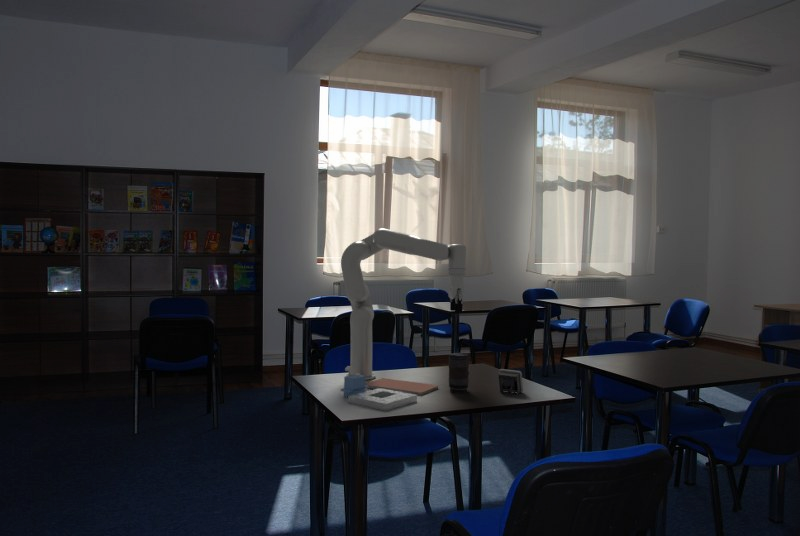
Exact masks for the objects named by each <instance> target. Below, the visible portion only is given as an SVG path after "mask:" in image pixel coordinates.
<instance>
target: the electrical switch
mask: <svg viewBox="0 0 800 536" xmlns="http://www.w3.org/2000/svg"><path fill="white" fill-rule="evenodd" d="M498 385H499V392H501V391H509V392H512V391H513V392H517V393H519V394H521V393H520V392H522V393H523V392H524V384H523V373H522V371H521V370H514V369H513V370H512V369H503V368H500V369H498Z"/></svg>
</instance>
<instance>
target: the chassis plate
mask: <svg viewBox="0 0 800 536" xmlns="http://www.w3.org/2000/svg"><path fill="white" fill-rule="evenodd" d="M347 398H348V400H347V401H348V402H347V403H349V404H351V405H357V406H361V407H366V408H371V409H376V410H381V411H385V412H386V411H390V410H394V409H396V408H401V407H404V406H407V405H411V404H414V403H417V402H418V395H414V394H409V393H404V392H398V391H393V390H388V389H383V388H378V389H373V390H372V389H369V390H365V392H362V393H358V394H354V395H350V396H348V397H347Z"/></svg>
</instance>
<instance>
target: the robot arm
mask: <svg viewBox="0 0 800 536" xmlns="http://www.w3.org/2000/svg"><path fill="white" fill-rule="evenodd" d="M466 246H467V245H466V244H462V243H453V244H452V243H451V244H448V243H447V244H445V243H443V242H442V243H441V242H438V241H433V240H429V239H425V238H420V237H418V236H416V235H413V234H408V233H405V232H400V231H396V230H393V229H389V228H382V227H380V228H378V229H376V230H375V231H374V232H373V233H372V234H370V235H368V236H366V237H364V238H363V239H361V240H357V241H354V242H352V243H350V244H349V245H348V246H347V247H346V248H345V249H344V250H343V252H342V255H341V258H340V266H341V272H342V273H341V274H342V278H343V284H344V289H345V294H346V295H345V296H346V298H347V299H348V302H350V307H351V313H350V317H349V324H350V326H349V327H350V365H347V366H346V367H345V368H344V371H345V372H348V374H346V377H347V376H352V375H356V373H360V375H363V376H365V381H370V380H374V379H376V374H375V373H373V320H374V317H375V312H374V307H373V302H372V298H371V292H370V290H369V287H368V285H367V284H366V283H365V281H364V280H365V279H364V276H363V271H362V267H361V261H365V260H366V259H369V258H371V257H372V256H373V255H376V254H378V253H379V252H381V251H383V250H384V249H385V250H390V251H394V252H398V253H402V254H405V255H411V256H418V257H422V258H427V259H430V260H433V261H434V260H435V261H439V262H441V261H446V260H448V268H447V269H448V271H447V272H448V277H449V280H448V281H449V283H448V298H450V305H449V306H450V307H449V308H450V309H449V310H450V311H451V312H454V313H456V314H462V313H463V306H464V305H463V299H464V293H465V292H464V291H465V290H464V287H465V285H464V277H466V274H467V272H466V270H467V269H466V268H467V264H466V263H467V247H466ZM369 379H370V380H369Z"/></svg>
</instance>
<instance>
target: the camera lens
mask: <svg viewBox="0 0 800 536" xmlns="http://www.w3.org/2000/svg"><path fill="white" fill-rule="evenodd" d="M469 360H470V358H469V354H468V353H464V352H453V353H449V354H448V387H449V391H450V392H451V393H454V394H455V393H456V394H464V393H467V391H468V387H469V375H470V371H469V368H470V367H469V366H470V365H469V364H470V361H469Z"/></svg>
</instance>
